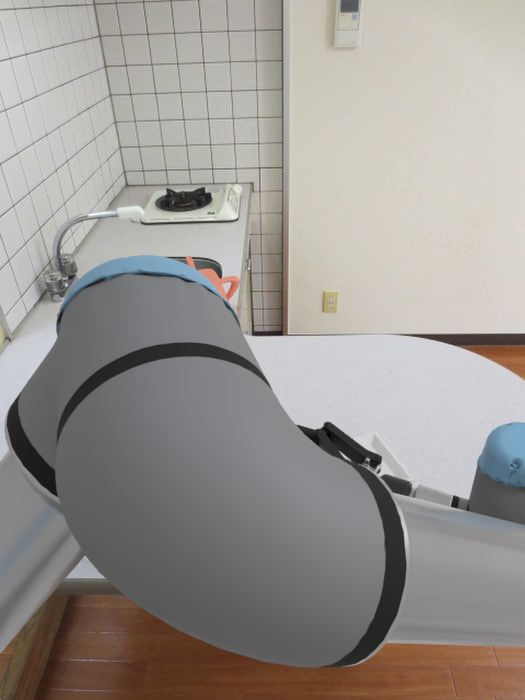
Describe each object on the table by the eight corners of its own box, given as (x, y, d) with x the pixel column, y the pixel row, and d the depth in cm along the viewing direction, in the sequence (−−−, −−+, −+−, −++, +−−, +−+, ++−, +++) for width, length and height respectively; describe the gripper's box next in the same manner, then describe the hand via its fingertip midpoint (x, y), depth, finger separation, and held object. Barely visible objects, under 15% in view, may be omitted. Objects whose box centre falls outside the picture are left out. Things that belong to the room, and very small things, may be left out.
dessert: (313, 454, 90) (313, 434, 88) (374, 435, 94) (376, 415, 91) (346, 507, 81) (348, 486, 78) (413, 483, 84) (416, 462, 82)
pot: (150, 325, 128) (141, 279, 121) (193, 294, 140) (187, 251, 133) (211, 345, 120) (205, 297, 113) (251, 311, 132) (249, 265, 125)
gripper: (373, 627, 55) (200, 552, 63) (425, 464, 73) (285, 422, 81) (380, 586, 50) (193, 511, 59) (433, 424, 69) (285, 384, 77)
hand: (246, 459), depth 70 cm, fingers open, 13 cm apart
